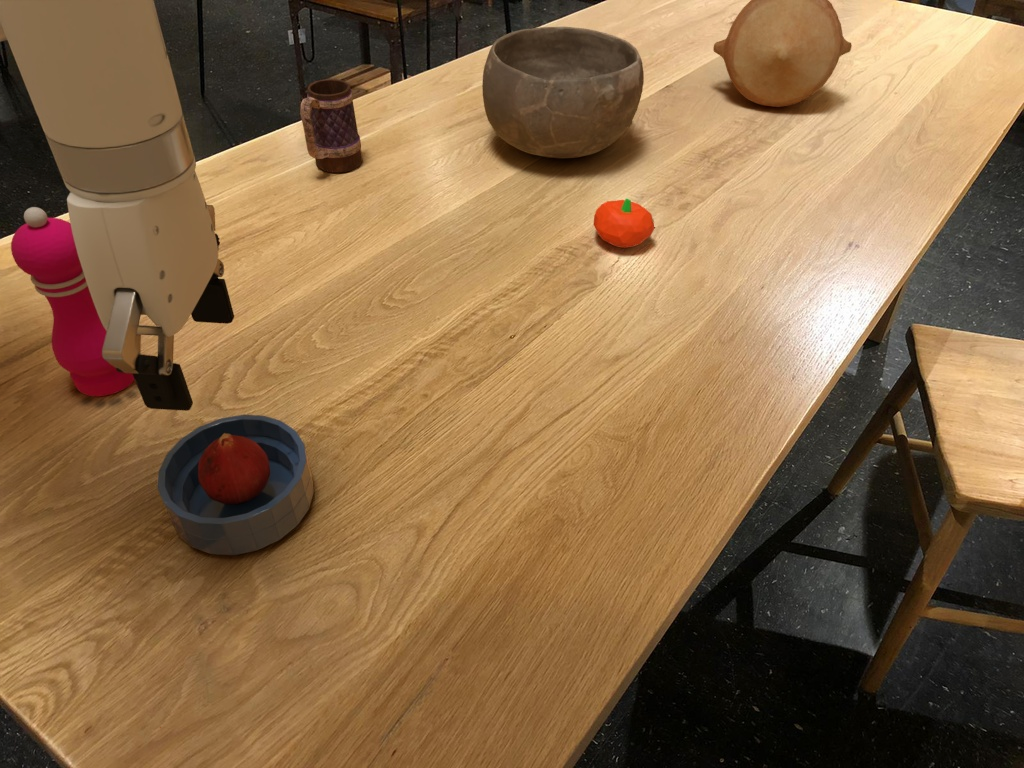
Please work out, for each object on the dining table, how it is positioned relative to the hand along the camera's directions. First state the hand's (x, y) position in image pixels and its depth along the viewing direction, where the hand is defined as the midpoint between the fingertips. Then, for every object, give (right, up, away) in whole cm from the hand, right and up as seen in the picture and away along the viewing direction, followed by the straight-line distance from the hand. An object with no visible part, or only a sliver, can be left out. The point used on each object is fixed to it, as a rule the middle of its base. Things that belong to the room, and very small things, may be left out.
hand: (193, 361), depth 58 cm
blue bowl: (0, -12, +11) cm, 17 cm away
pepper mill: (-19, -1, +23) cm, 29 cm away
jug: (+72, +54, +85) cm, 124 cm away
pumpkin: (+38, +17, +45) cm, 62 cm away
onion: (0, -12, +11) cm, 16 cm away
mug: (-3, +31, +58) cm, 65 cm away
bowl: (+31, +36, +65) cm, 80 cm away
